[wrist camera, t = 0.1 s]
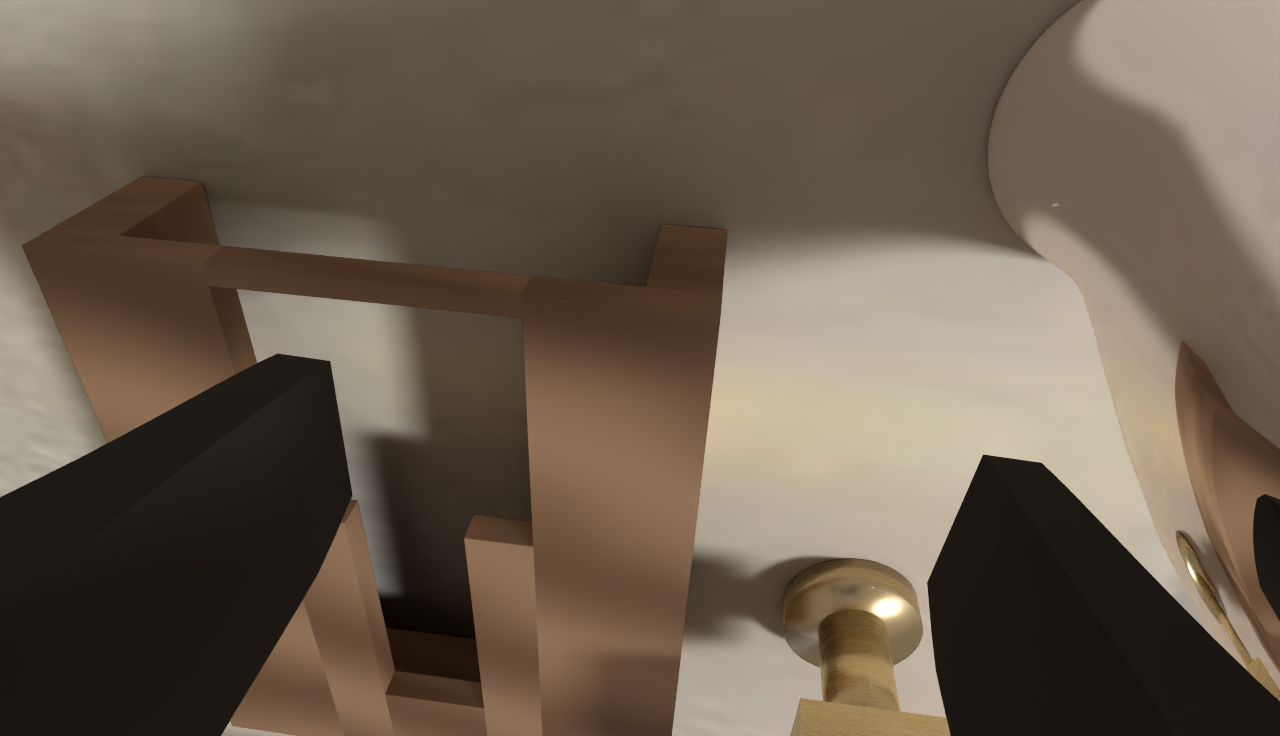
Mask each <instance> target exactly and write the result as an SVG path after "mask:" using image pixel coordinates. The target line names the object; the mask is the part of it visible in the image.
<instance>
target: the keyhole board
mask: <svg viewBox="0 0 1280 736" xmlns="http://www.w3.org/2000/svg"><path fill="white" fill-rule="evenodd" d="M726 240H727V230H721V229H710V228H699V227H688V226H678V225H667V224H661V227H660V231H659V235H658V239H657V243H656V248H655V252H654V256H653V260H652V264H651V268H650V272H649V276H648V280H647V284H646V287H640V286H629V285H619V284H609V283H599V282H588V281H578V280H568V279H558V278H547V277H537V276H527V275H517V274H507V273H496V272H486V271H476V270H466V269H455V268H445V267H435V266H425V265H414V264H404V263H394V262H384V261H373V260H363V259H353V258H343V257H333V256H322V255H312V254H302V253H292V252H281V251H271V250H261V249H251V248H240V247H230V246H220V245H219V242H218V238H217V235H216V231H215V227H214V224H213V220H212V217H211V213H210V210H209V206H208V203H207V199H206V196H205V192H204V189H203V185H202V182H196V181H186V180H175V179H164V178H153V177H140V178H139V179H137V180H135V181H133V182H132V183H130V184H128V185H126V186H125V187H123V188H121V189H120V190H118V191H116V192H114V193H113V194H111V195H109V196H107V197H106V198H104V199H102V200H100V201H99V202H97V203H95V204H93V205H92V206H90V207H88V208H86V209H85V210H83V211H81V212H80V213H78V214H76V215H74V216H73V217H71V218H69V219H67V220H66V221H64V222H62V223H60V224H59V225H57V226H55V227H53V228H52V229H50V230H48V231H46V232H45V233H43V234H41V235H40V236H38V237H36V238H34V239H33V240H31V241H29V242H27V243H26V244H24V245H22V247H23V250H24V252H25V254H26V256H27V259H28V261H29V263H30V266H31V268H32V270H33V272H34V275H35V277H36V279H37V281H38V284H39V286H40V288H41V291H42V293H43V295H44V297H45V300H46V302H47V304H48V307H49V309H50V311H51V313H52V316H53V318H54V320H55V323H56V325H57V327H58V329H59V332H60V334H61V336H62V338H63V341H64V343H65V345H66V348H67V350H68V352H69V354H70V357H71V359H72V361H73V364H74V366H75V368H76V370H77V373H78V375H79V377H80V380H81V382H82V384H83V386H84V389H85V391H86V393H87V395H88V398H89V400H90V402H91V405H92V407H93V409H94V411H95V414H96V416H97V418H98V421H99V423H100V425H101V427H102V430H103V432H104V434H105V437H106V439H107V441H108V443H109V442H111V441H113V440H115V439H116V438H118V437H120V436H122V435H124V434H126V433H128V432H130V431H131V430H133V429H135V428H137V427H139V426H141V425H143V424H144V423H146V422H148V421H150V420H152V419H154V418H156V417H157V416H159V415H161V414H163V413H165V412H167V411H169V410H170V409H172V408H174V407H176V406H178V405H180V404H181V403H183V402H185V401H187V400H189V399H191V398H192V397H194V396H196V395H198V394H200V393H202V392H203V391H205V390H207V389H209V388H211V387H213V386H214V385H216V384H218V383H220V382H222V381H224V380H226V379H228V378H229V377H231V376H233V375H235V374H237V373H239V372H241V371H243V370H245V369H247V368H249V367H251V366H253V365H255V364H257V361H256V357H255V354H254V350H253V347H252V343H251V339H250V336H249V332H248V329H247V325H246V322H245V318H244V314H243V311H242V307H241V304H240V300H239V297H238V293H237V289H243V290H253V291H262V292H272V293H282V294H292V295H302V296H311V297H321V298H331V299H341V300H351V301H360V302H370V303H380V304H390V305H400V306H410V307H419V308H429V309H439V310H449V311H459V312H468V313H478V314H488V315H498V316H508V317H517V318H522V324H523V345H524V365H525V386H526V407H527V428H528V448H529V469H530V490H531V511H532V522H530V521H522V520H514V519H506V518H497V517H489V516H481V515H473V518H472V520H471V523H470V525H469V528H468V530H467V532H466V535H465V537H464V542H465V550H466V558H467V567H468V575H469V584H470V592H471V601H472V609H473V618H474V626H475V634H476V639H469V638H461V637H454V636H447V635H439V634H432V633H424V632H417V631H409V630H402V629H394V628H387V627H385V623H384V618H383V613H382V609H381V604H380V600H379V595H378V590H377V586H376V581H375V577H374V572H373V568H372V563H371V558H370V554H369V549H368V545H367V540H366V535H365V531H364V526H363V522H362V517H361V513H360V508H359V503H358V500H350V502H349V505H348V507H347V509H346V512H345V514H344V516H343V519H342V521H341V524H340V526H339V528H338V531H337V533H336V536H335V538H334V540H333V542H332V545H331V547H330V549H329V551H328V553H327V556H326V558H325V560H324V562H323V564H322V567H321V569H320V571H319V573H318V575H317V577H316V578H315V580H314V582H313V583H312V585H311V587H310V589H309V590H308V592H307V594H306V595H305V597H304V599H303V601H302V602H301V604H300V606H299V607H298V609H297V611H296V612H295V614H294V616H293V617H292V619H291V621H290V622H289V624H288V626H287V627H286V629H285V631H284V632H283V634H282V636H281V637H280V639H279V641H278V642H277V644H276V646H275V647H274V649H273V651H272V652H271V654H270V656H269V657H268V659H267V660H266V662H265V664H264V665H263V667H262V669H261V670H260V672H259V674H258V675H257V677H256V679H255V680H254V682H253V683H252V685H251V687H250V688H249V690H248V692H247V693H246V695H245V697H244V698H243V700H242V702H241V703H240V705H239V707H238V708H237V710H236V712H235V713H234V715H233V716H232V718H231V720H230V722H231V724H232V726H236V727H243V728H249V729H256V730H263V731H270V732H277V733H284V734H291V735H297V736H672V727H673V719H674V710H675V701H676V693H677V684H678V676H679V667H680V659H681V650H682V641H683V633H684V624H685V616H686V607H687V599H688V590H689V581H690V573H691V564H692V556H693V547H694V539H695V530H696V521H697V513H698V504H699V496H700V487H701V479H702V470H703V462H704V453H705V444H706V436H707V427H708V419H709V410H710V402H711V393H712V384H713V376H714V367H715V359H716V350H717V342H718V333H719V324H720V316H721V303H722V291H723V278H724V265H725V252H726Z"/></svg>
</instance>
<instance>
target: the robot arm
mask: <svg viewBox="0 0 1280 736" xmlns="http://www.w3.org/2000/svg"><path fill="white" fill-rule="evenodd" d="M351 497H352V490H351V484H350V478H349V472H348V466H347V460H346V454H345V448H344V442H343V436H342V430H341V424H340V418H339V412H338V406H337V400H336V394H335V388H334V382H333V376H332V370H331V364H330V361H325V360H318V359H311V358H304V357H297V356H291V355H284V354H276V355H274V356H272V357H269V358H267V359H265V360H263V361H261V362H259V363H257V364H255V365H253V366H251V367H249V368H247V369H245V370H243V371H241V372H239V373H237V374H235V375H233V376H231V377H229V378H228V379H226V380H224V381H222V382H220V383H218V384H216V385H214V386H213V387H211V388H209V389H207V390H205V391H203V392H202V393H200V394H198V395H196V396H194V397H192V398H191V399H189V400H187V401H185V402H183V403H181V404H180V405H178V406H176V407H174V408H172V409H170V410H169V411H167V412H165V413H163V414H161V415H159V416H157V417H156V418H154V419H152V420H150V421H148V422H146V423H144V424H143V425H141V426H139V427H137V428H135V429H133V430H131V431H130V432H128V433H126V434H124V435H122V436H120V437H118V438H116V439H115V440H113V441H111V442H109V443H107V444H105V445H103V446H102V447H100V448H98V449H96V450H94V451H92V452H90V453H88V454H87V455H85V456H83V457H81V458H79V459H77V460H75V461H73V462H71V463H69V464H67V465H65V466H63V467H61V468H59V469H57V470H55V471H53V472H51V473H49V474H47V475H45V476H43V477H41V478H39V479H37V480H35V481H32V482H30V483H28V484H26V485H24V486H22V487H20V488H18V489H16V490H14V491H12V492H10V493H8V494H6V495H4V496H2V497H0V736H221V735H222V733H223V731H224V730H225V728H226V726H227V725H228V723H229V721H230V720H231V718H232V716H233V715H234V713H235V712H236V710H237V708H238V707H239V705H240V703H241V702H242V700H243V698H244V697H245V695H246V693H247V692H248V690H249V688H250V687H251V685H252V683H253V682H254V680H255V679H256V677H257V675H258V674H259V672H260V670H261V669H262V667H263V665H264V664H265V662H266V660H267V659H268V657H269V656H270V654H271V652H272V651H273V649H274V647H275V646H276V644H277V642H278V641H279V639H280V637H281V636H282V634H283V632H284V631H285V629H286V627H287V626H288V624H289V622H290V621H291V619H292V617H293V616H294V614H295V612H296V611H297V609H298V607H299V606H300V604H301V602H302V601H303V599H304V597H305V595H306V594H307V592H308V590H309V589H310V587H311V585H312V583H313V582H314V580H315V578H316V577H317V575H318V573H319V571H320V569H321V567H322V564H323V562H324V560H325V558H326V556H327V553H328V551H329V549H330V547H331V545H332V542H333V540H334V538H335V536H336V533H337V531H338V528H339V526H340V524H341V521H342V519H343V516H344V514H345V512H346V509H347V507H348V505H349V502H350V500H351ZM927 584H928V596H929V608H930V619H931V631H932V640H933V648H934V657H935V666H936V673H937V677H938V682H939V686H940V691H941V696H942V700H943V704H944V709H945V713H946V718H947V722H948V726H949V731H950V735H951V736H1280V701H1279V700H1278V699H1277V698H1276V697H1275V696H1274V695H1273V694H1271V693H1270V692H1269V691H1268V690H1267V689H1266V688H1265V687H1264V686H1263V685H1262V684H1261V683H1260V682H1259V681H1257V680H1256V679H1255V678H1254V677H1253V676H1252V675H1251V674H1250V673H1249V672H1248V671H1247V670H1246V669H1245V668H1244V667H1243V666H1242V665H1241V664H1240V663H1239V662H1238V661H1237V660H1236V659H1235V658H1234V657H1233V656H1232V655H1231V654H1230V653H1228V652H1227V651H1226V650H1225V649H1224V648H1223V647H1222V646H1221V645H1220V644H1219V643H1218V642H1217V641H1216V640H1215V639H1214V638H1213V637H1212V636H1211V635H1210V634H1209V633H1208V632H1207V631H1206V630H1205V629H1204V628H1203V627H1202V626H1201V625H1200V624H1199V623H1198V622H1197V621H1196V620H1195V619H1194V618H1193V617H1192V616H1191V615H1190V614H1189V613H1188V612H1187V611H1186V610H1185V609H1184V608H1183V607H1182V606H1181V605H1180V604H1179V603H1178V602H1177V601H1176V600H1175V599H1174V598H1173V597H1172V596H1171V595H1170V594H1169V593H1168V592H1167V591H1166V590H1165V589H1164V588H1163V587H1162V585H1161V584H1160V583H1159V582H1158V581H1157V580H1156V579H1155V578H1154V577H1153V576H1152V575H1151V574H1150V573H1149V572H1148V571H1147V570H1146V569H1145V568H1144V567H1143V566H1142V565H1141V564H1140V563H1139V562H1138V561H1137V560H1136V559H1135V558H1134V557H1133V555H1132V554H1131V553H1130V552H1129V551H1128V550H1127V549H1126V548H1125V547H1124V546H1123V545H1122V544H1121V543H1120V542H1119V541H1118V540H1117V539H1116V538H1115V537H1114V536H1113V535H1112V534H1111V533H1110V532H1109V530H1108V529H1107V528H1106V527H1105V526H1104V525H1103V524H1102V523H1101V522H1100V521H1099V520H1098V519H1097V518H1096V517H1095V516H1094V515H1093V514H1092V513H1091V512H1090V511H1089V510H1088V509H1087V508H1086V507H1085V505H1084V504H1083V503H1082V502H1081V501H1080V500H1079V499H1078V498H1077V497H1076V496H1075V495H1074V494H1073V493H1072V492H1071V491H1070V490H1069V489H1068V488H1067V487H1066V486H1065V485H1064V484H1063V483H1062V482H1061V481H1060V480H1059V479H1058V478H1057V477H1056V476H1055V475H1054V474H1053V473H1052V472H1051V471H1049V470H1048V469H1047V468H1046V467H1045V466H1044V465H1043V464H1042V463H1038V462H1031V461H1024V460H1017V459H1010V458H1003V457H996V456H989V455H983V456H982V459H981V461H980V463H979V465H978V468H977V470H976V472H975V475H974V477H973V479H972V481H971V484H970V486H969V488H968V491H967V493H966V495H965V497H964V500H963V502H962V504H961V507H960V509H959V511H958V514H957V516H956V518H955V520H954V523H953V525H952V527H951V530H950V532H949V534H948V536H947V539H946V541H945V543H944V546H943V548H942V550H941V552H940V555H939V557H938V559H937V562H936V564H935V566H934V568H933V571H932V573H931V575H930V578H929V580H928V582H927Z"/></svg>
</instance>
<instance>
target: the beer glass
mask: <svg viewBox="0 0 1280 736" xmlns="http://www.w3.org/2000/svg"><path fill="white" fill-rule="evenodd" d="M988 171H989V178H990V183H991V188H992V191H993V195H994V197H995V200H996V203H997V205H998V207H999V209H1000V211H1001V213H1002V215H1003V216H1004V218H1005V220H1006V221H1007V222H1008V224H1009V225H1010V227H1011V228H1012V229H1013V230H1014V231H1015V233H1016V234H1017V235H1018V236H1019V237H1020V238H1021V239H1022V240H1023V241H1024V242H1025V243H1026V244H1027V245H1028V246H1030V247H1031V248H1032V249H1033V250H1034V251H1036V252H1037V253H1039V254H1040V255H1041V256H1043V257H1044V258H1046V259H1047V260H1048V261H1050V262H1051V263H1053V264H1054V265H1055V266H1057V267H1058V268H1059V269H1061V270H1062V271H1064V272H1065V273H1066V274H1067V275H1068V276H1069V277H1070V278H1071V279H1072V280H1073V281H1074V282H1075V284H1076V285H1077V286H1078V288H1079V290H1080V292H1081V294H1082V296H1083V298H1084V301H1085V305H1086V308H1087V311H1088V314H1089V317H1090V320H1091V324H1092V327H1093V331H1094V334H1095V338H1096V342H1097V346H1098V350H1099V354H1100V358H1101V361H1102V365H1103V369H1104V373H1105V377H1106V380H1107V384H1108V387H1109V391H1110V394H1111V398H1112V401H1113V405H1114V408H1115V412H1116V415H1117V419H1118V423H1119V426H1120V430H1121V433H1122V437H1123V440H1124V444H1125V447H1126V450H1127V453H1128V455H1129V458H1130V461H1131V463H1132V466H1133V469H1134V472H1135V474H1136V477H1137V480H1138V483H1139V485H1140V488H1141V491H1142V493H1143V496H1144V499H1145V502H1146V504H1147V507H1148V510H1149V512H1150V515H1151V518H1152V521H1153V523H1154V526H1155V529H1156V532H1157V534H1158V536H1159V539H1160V541H1161V543H1162V545H1163V547H1164V549H1165V551H1166V553H1167V555H1168V557H1169V559H1170V561H1171V563H1172V565H1173V567H1174V569H1175V571H1176V573H1177V575H1178V577H1179V579H1180V581H1181V583H1182V585H1183V587H1184V589H1185V591H1186V593H1187V595H1188V597H1189V599H1190V601H1191V603H1192V605H1193V606H1194V608H1195V610H1196V612H1197V614H1198V616H1199V618H1200V620H1201V622H1202V624H1203V626H1204V628H1205V630H1206V631H1207V632H1208V633H1209V634H1210V635H1211V636H1212V637H1213V638H1214V639H1215V640H1216V641H1217V642H1218V643H1219V644H1220V645H1221V646H1222V647H1223V648H1224V649H1225V650H1226V651H1227V652H1228V653H1230V654H1231V655H1232V656H1233V657H1234V658H1235V659H1236V660H1237V661H1238V662H1239V663H1240V664H1241V665H1242V666H1243V667H1244V668H1245V669H1246V670H1247V671H1248V672H1249V673H1250V674H1251V675H1252V676H1253V677H1254V678H1255V679H1256V680H1257V681H1259V682H1260V683H1261V684H1262V685H1263V686H1264V687H1265V688H1266V689H1267V690H1268V691H1269V692H1270V693H1271V694H1273V695H1274V696H1275V697H1276V698H1277V699H1278V700H1279V701H1280V0H1081V1H1080V2H1078V3H1077V4H1076V5H1074V6H1073V7H1072V8H1070V9H1069V10H1068V11H1067V12H1065V13H1064V14H1063V15H1062V16H1061V17H1060V18H1058V19H1057V20H1056V21H1055V22H1054V23H1053V24H1052V25H1051V26H1050V27H1049V28H1048V29H1047V30H1046V31H1045V32H1044V33H1043V34H1042V35H1041V36H1040V37H1039V38H1038V39H1037V41H1036V42H1035V43H1034V44H1033V45H1032V46H1031V48H1030V49H1029V50H1028V51H1027V53H1026V54H1025V55H1024V57H1023V58H1022V60H1021V61H1020V63H1019V64H1018V66H1017V67H1016V69H1015V70H1014V72H1013V74H1012V75H1011V77H1010V79H1009V81H1008V82H1007V84H1006V86H1005V88H1004V90H1003V93H1002V95H1001V97H1000V100H999V102H998V105H997V107H996V110H995V114H994V117H993V121H992V124H991V129H990V135H989V142H988Z"/></svg>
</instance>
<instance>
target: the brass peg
mask: <svg viewBox="0 0 1280 736" xmlns="http://www.w3.org/2000/svg"><path fill="white" fill-rule="evenodd" d="M783 619H784V635H785V638H786V641H787V643H788V645H789V646H790V648H791V649H792V650H793V651H794V652H795V653H796V654H797V655H798V656H799V657H801V658H802V659H804V660H805V661H807V662H809V663H811V664H813V665H815V666H817V667H820V668H821V682H822V695H823V701H818V700H811V699H803V698H800V702H799V705H798V709H797V713H796V716H795V720H794V724H793V728H792V731H791V735H790V736H951V735H950V731H949V726H948V722H947V718H944V717H937V716H929V715H922V714H914V713H907V712H900V707H899V701H898V695H897V688H896V682H895V676H894V669H893V665H895V664H898V663H899V662H901V661H903V660H904V659H906V658H907V657H908V656H910V655H911V654H912V653H913V652H914V651H915V649H916V648H917V647H918V645H919V643H920V641H921V638H922V635H923V626H922V620H921V615H920V610H919V606H918V601H917V596H916V593H915V590H914V588H913V587H912V585H911V584H910V582H909V581H908V580H907V579H906V578H905V577H904V576H903V575H901V574H900V573H898V572H897V571H895V570H894V569H892V568H890V567H888V566H885V565H882V564H880V563H876V562H872V561H867V560H859V559H841V560H833V561H828V562H824V563H820V564H817V565H815V566H812V567H810V568H808V569H806V570H804V571H803V572H801V573H800V574H799V575H797V576H796V577H795V578H794V579H793V580H792V581H791V582H790V584H789V585H788V587H787V589H786V590H785V593H784V597H783Z"/></svg>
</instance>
